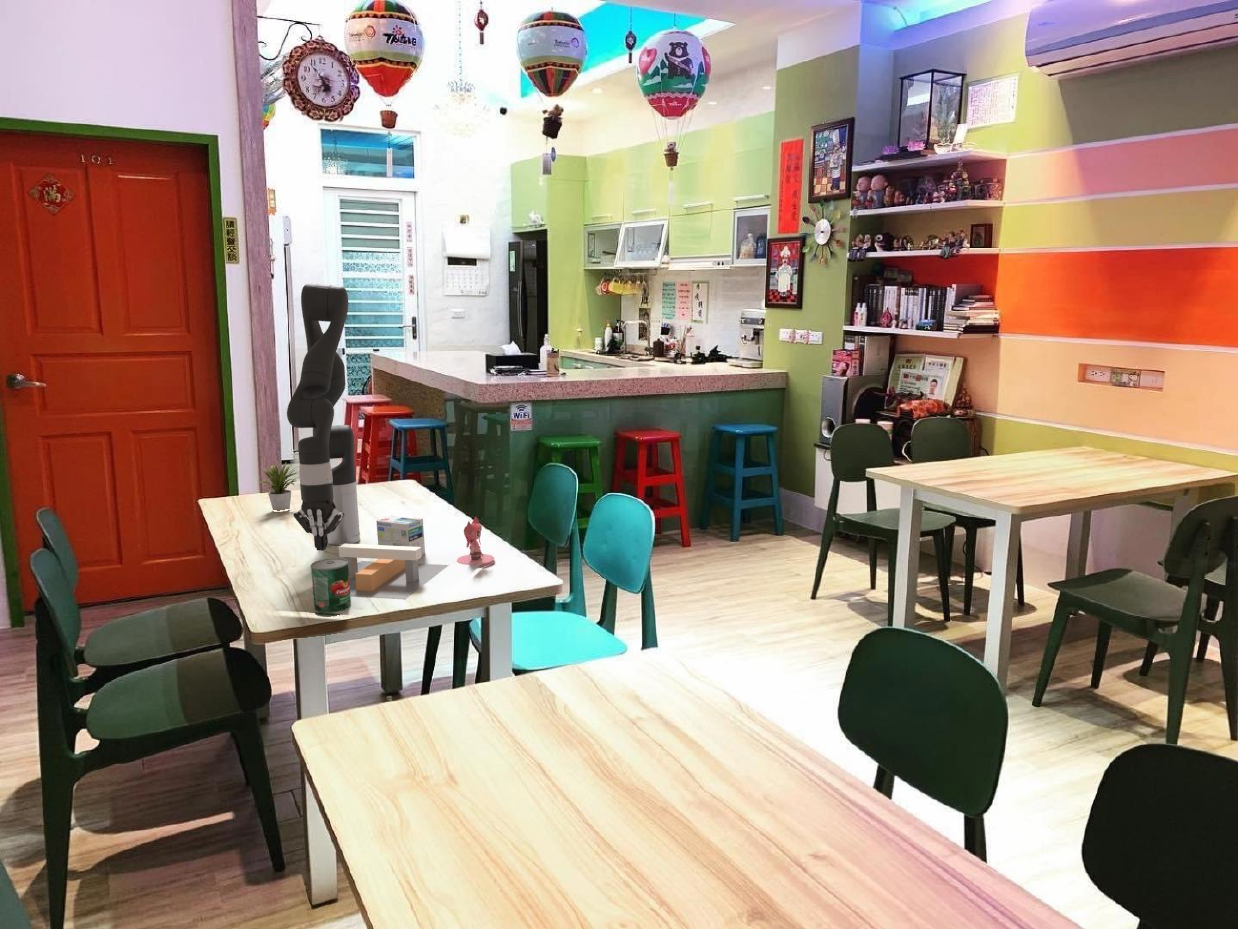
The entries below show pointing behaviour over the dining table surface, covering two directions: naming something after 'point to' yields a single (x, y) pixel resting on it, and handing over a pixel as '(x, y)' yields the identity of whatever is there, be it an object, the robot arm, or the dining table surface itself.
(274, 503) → the house plant
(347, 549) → the cream bar
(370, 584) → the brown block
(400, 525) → the light bulb box
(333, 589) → the canned tomato
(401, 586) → the cable board
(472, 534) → the toy figure
